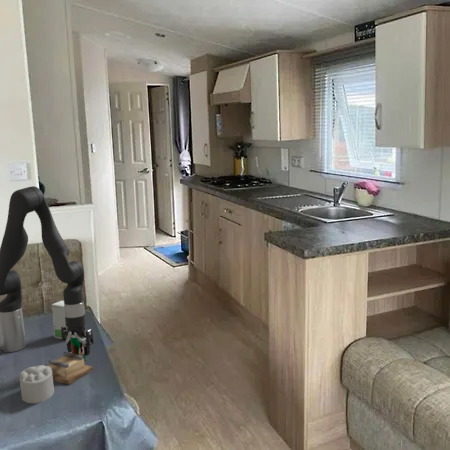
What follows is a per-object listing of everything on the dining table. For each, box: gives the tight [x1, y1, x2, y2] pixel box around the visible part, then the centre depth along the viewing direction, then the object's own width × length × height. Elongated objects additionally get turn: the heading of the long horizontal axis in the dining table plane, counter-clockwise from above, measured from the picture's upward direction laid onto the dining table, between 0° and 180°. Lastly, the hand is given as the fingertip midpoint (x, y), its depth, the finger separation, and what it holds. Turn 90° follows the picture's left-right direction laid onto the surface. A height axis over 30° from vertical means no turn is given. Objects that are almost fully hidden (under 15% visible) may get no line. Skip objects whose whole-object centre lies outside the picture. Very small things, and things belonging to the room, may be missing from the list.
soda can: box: [70, 334, 87, 363], centre depth 193 cm, size 5×5×12 cm
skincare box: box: [51, 300, 69, 340], centre depth 220 cm, size 8×7×16 cm
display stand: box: [47, 351, 94, 386], centre depth 184 cm, size 14×12×6 cm
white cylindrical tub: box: [19, 364, 55, 404], centre depth 170 cm, size 10×13×9 cm
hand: (78, 353), depth 193 cm, fingers open, 8 cm apart
